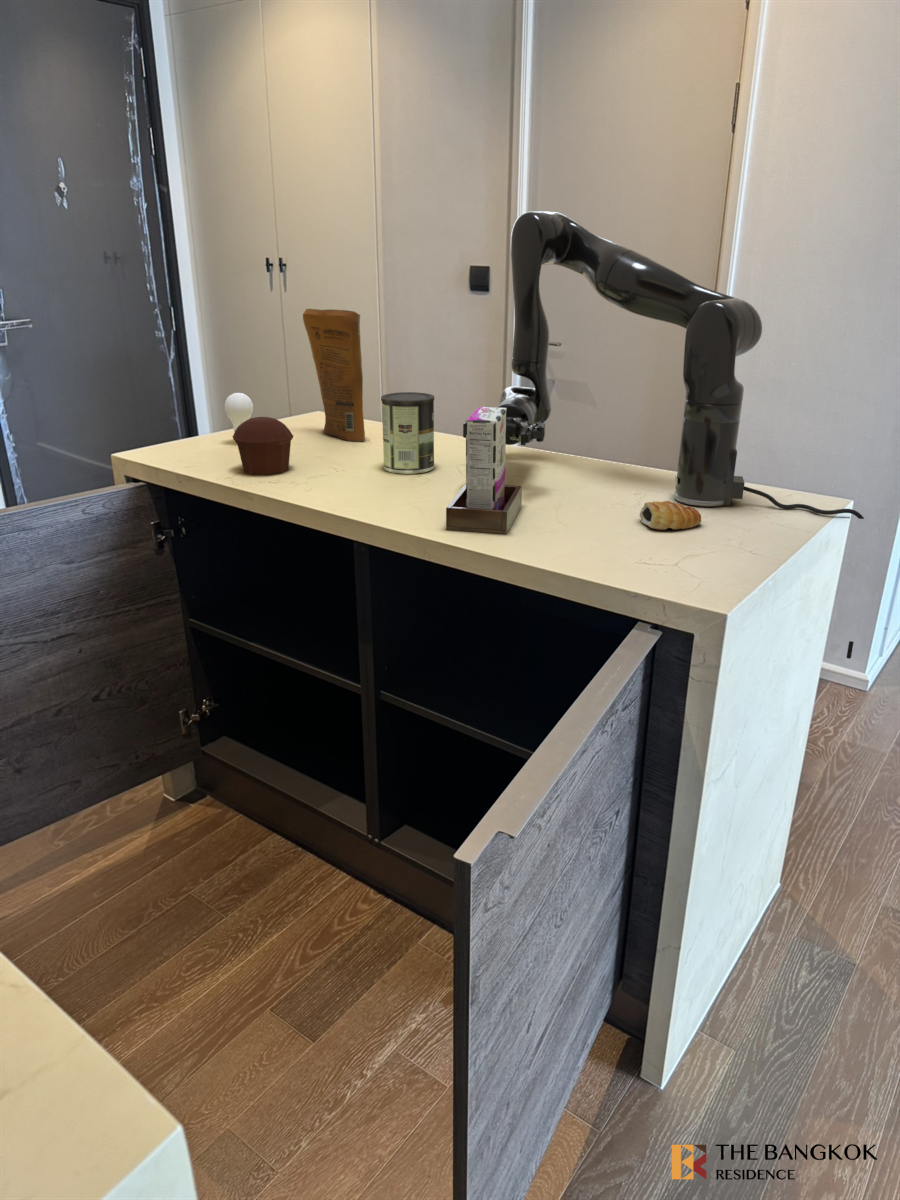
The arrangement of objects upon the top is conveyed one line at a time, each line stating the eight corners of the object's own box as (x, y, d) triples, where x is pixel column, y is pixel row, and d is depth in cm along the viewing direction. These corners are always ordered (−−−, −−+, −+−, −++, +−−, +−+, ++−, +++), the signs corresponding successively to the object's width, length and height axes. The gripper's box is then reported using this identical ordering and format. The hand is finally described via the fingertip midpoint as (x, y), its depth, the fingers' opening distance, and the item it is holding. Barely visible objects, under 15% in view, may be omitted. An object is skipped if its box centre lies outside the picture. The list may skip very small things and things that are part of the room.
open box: (521, 506, 147) (522, 485, 146) (506, 534, 133) (507, 511, 132) (466, 502, 149) (466, 482, 148) (445, 529, 135) (446, 507, 134)
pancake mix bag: (352, 445, 190) (346, 312, 179) (306, 431, 203) (299, 306, 193) (377, 441, 194) (373, 310, 183) (331, 427, 207) (324, 305, 197)
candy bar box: (476, 503, 147) (477, 405, 140) (505, 505, 146) (508, 407, 139) (463, 522, 136) (464, 418, 130) (494, 524, 136) (497, 420, 129)
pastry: (689, 517, 142) (692, 494, 140) (708, 530, 136) (711, 506, 134) (635, 520, 140) (637, 497, 139) (652, 533, 134) (654, 509, 132)
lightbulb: (261, 442, 193) (257, 392, 188) (242, 447, 188) (237, 396, 184) (242, 438, 196) (237, 389, 191) (222, 443, 191) (217, 393, 187)
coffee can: (424, 460, 178) (423, 390, 172) (442, 471, 169) (442, 398, 163) (376, 464, 174) (374, 393, 169) (392, 476, 165) (390, 402, 160)
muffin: (306, 465, 173) (303, 415, 169) (276, 479, 163) (272, 426, 159) (255, 460, 177) (251, 411, 173) (223, 473, 167) (218, 421, 163)
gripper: (475, 398, 161) (457, 414, 146) (551, 401, 158) (540, 417, 143) (475, 438, 164) (456, 457, 149) (549, 442, 161) (538, 462, 146)
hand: (498, 438), depth 146 cm, fingers open, 8 cm apart
